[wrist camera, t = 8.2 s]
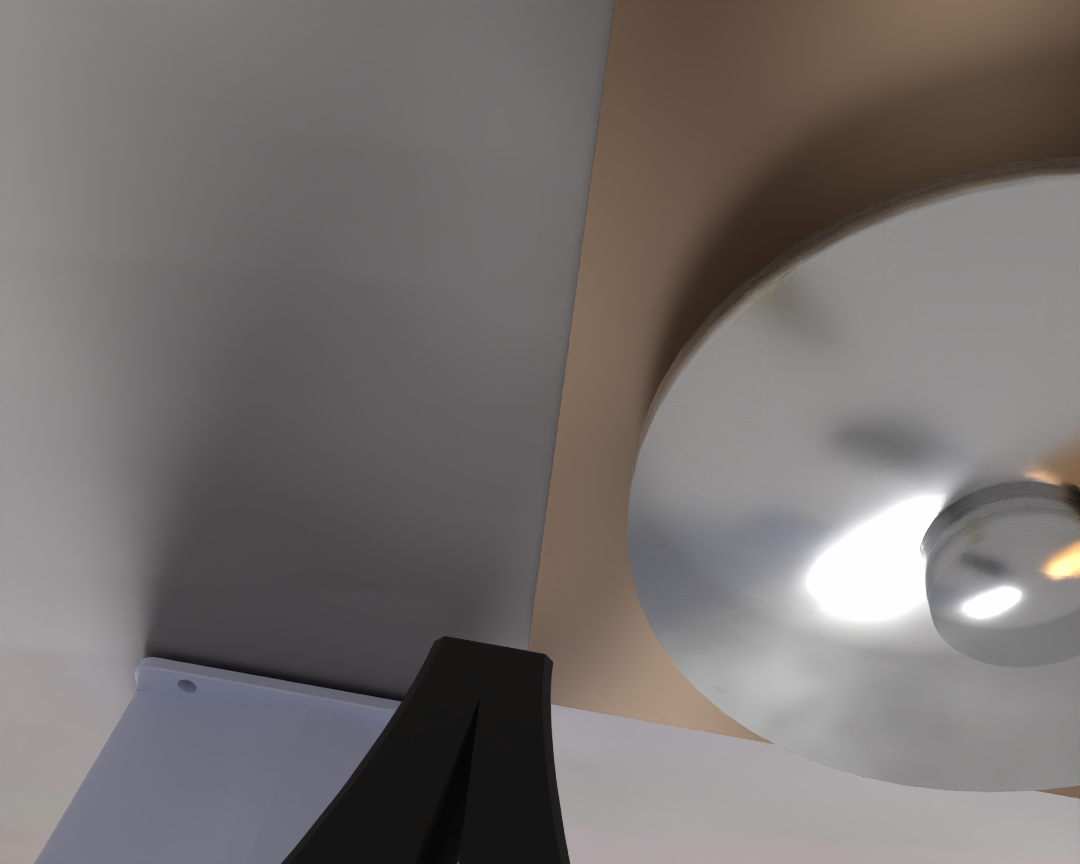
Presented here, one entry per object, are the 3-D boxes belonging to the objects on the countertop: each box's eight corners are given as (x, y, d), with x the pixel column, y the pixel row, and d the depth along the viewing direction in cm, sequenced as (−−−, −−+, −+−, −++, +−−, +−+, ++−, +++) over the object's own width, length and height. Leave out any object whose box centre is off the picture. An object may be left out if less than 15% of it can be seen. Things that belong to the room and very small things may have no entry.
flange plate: (577, 216, 16) (540, 352, 12) (1612, 87, 13) (1937, 220, 9) (672, 752, 23) (665, 933, 19) (1353, 750, 20) (1485, 962, 16)
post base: (530, 651, 25) (491, 850, 21) (633, -101, 15) (600, -28, 11) (1179, 766, 25) (1283, 998, 20) (1732, 44, 15) (2181, 188, 10)
